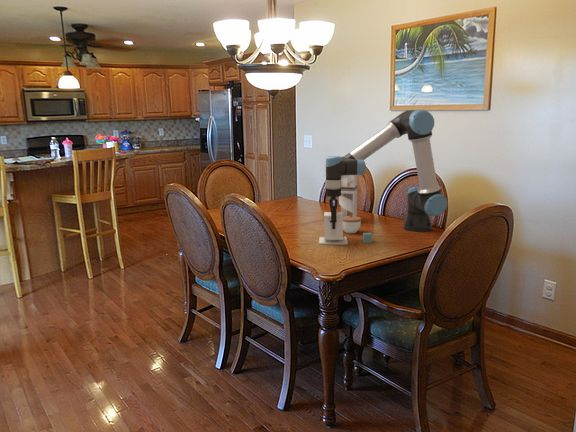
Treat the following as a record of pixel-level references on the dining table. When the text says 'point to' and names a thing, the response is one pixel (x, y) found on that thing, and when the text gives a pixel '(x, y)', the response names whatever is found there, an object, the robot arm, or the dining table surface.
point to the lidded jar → (351, 224)
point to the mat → (333, 241)
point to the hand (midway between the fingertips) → (333, 232)
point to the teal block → (367, 237)
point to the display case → (348, 195)
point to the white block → (328, 226)
